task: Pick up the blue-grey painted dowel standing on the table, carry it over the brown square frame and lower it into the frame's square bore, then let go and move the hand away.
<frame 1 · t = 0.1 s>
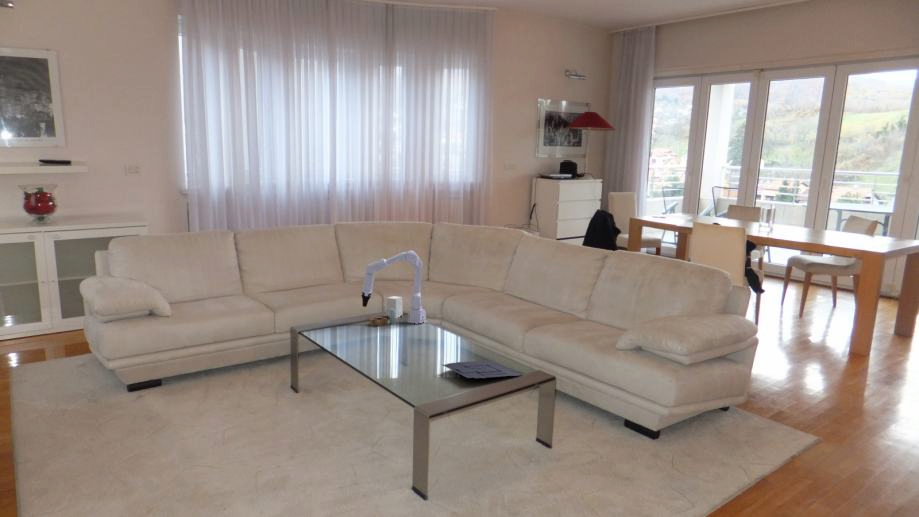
hand: (364, 305, 354), 11 cm above the table, fingers open, 7 cm apart
dowel: (392, 323, 353), on the table
supplement box: (394, 317, 371), on the table
brown square frame: (378, 324, 350), on the table
dark grey flat piece: (480, 374, 267), on the table
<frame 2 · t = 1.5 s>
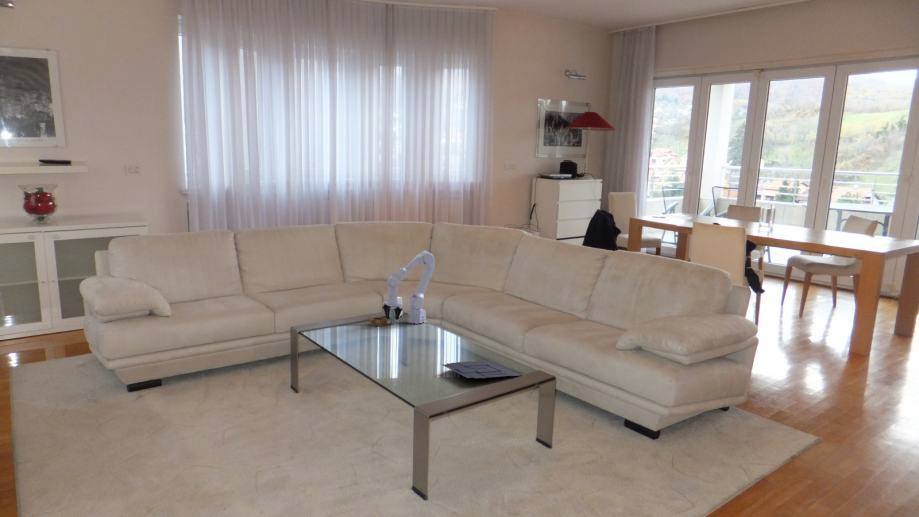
hand: (392, 318, 353), 3 cm above the table, fingers open, 7 cm apart
nothing on the table moved.
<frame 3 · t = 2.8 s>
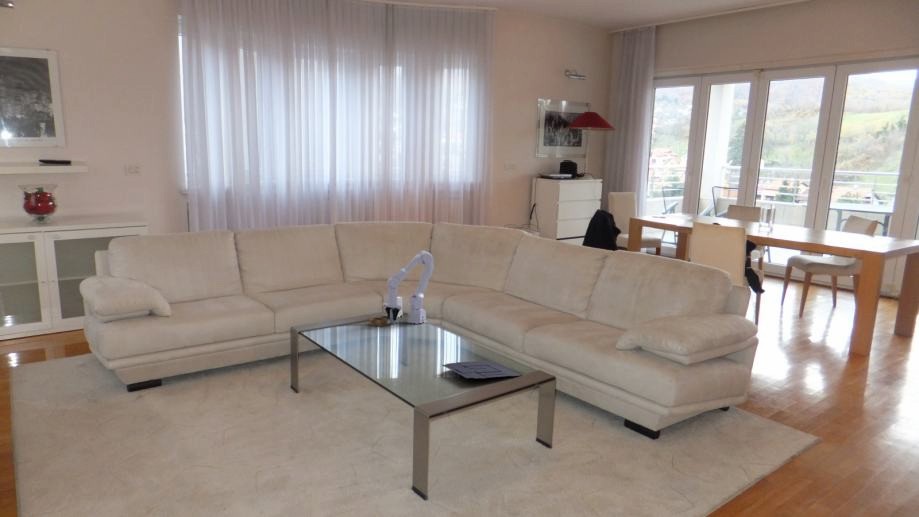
hand: (392, 319, 353), 2 cm above the table, fingers closed on dowel, 3 cm apart
dowel: (392, 323, 353), on the table, touching gripper
everything else where it was.
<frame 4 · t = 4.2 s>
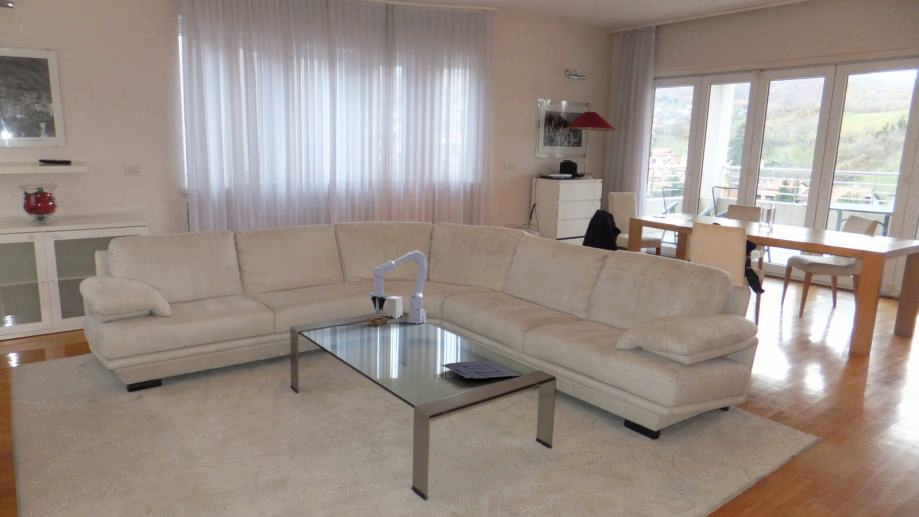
hand: (378, 309, 349), 9 cm above the table, fingers closed on dowel, 3 cm apart
dowel: (378, 313, 349), point 7 cm above the table, touching gripper
everything else where it was.
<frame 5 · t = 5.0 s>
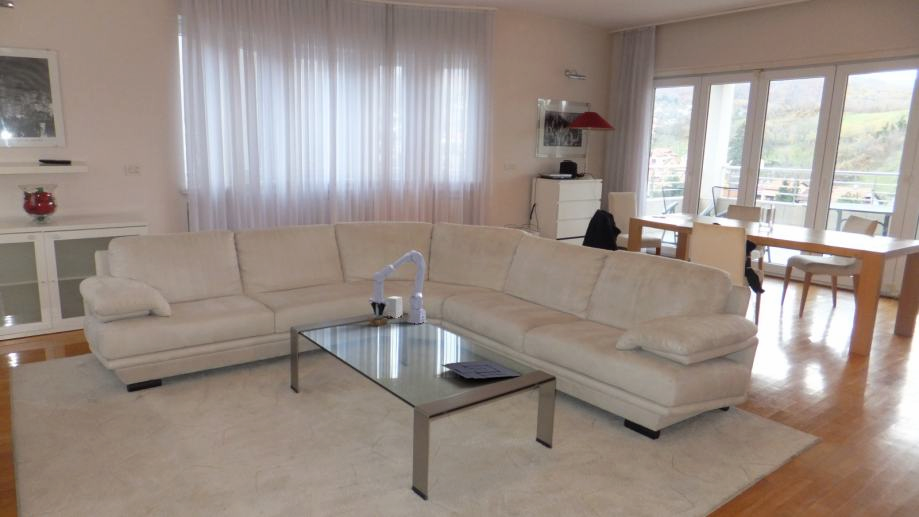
hand: (378, 314, 350), 6 cm above the table, fingers closed on dowel, 3 cm apart
dowel: (378, 318, 350), point 3 cm above the table, touching gripper
everything else where it was.
when the fingers open (4 cm above the table, at t = 5.7 s): dowel drops 2 cm, resting in brown square frame.
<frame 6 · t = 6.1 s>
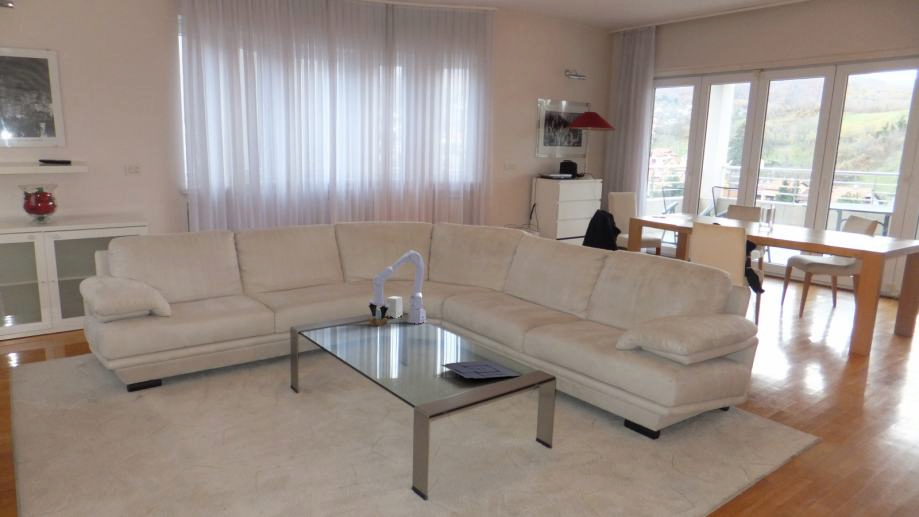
hand: (378, 317, 350), 4 cm above the table, fingers open, 7 cm apart
dowel: (378, 324, 350), resting in brown square frame
everything else where it was.
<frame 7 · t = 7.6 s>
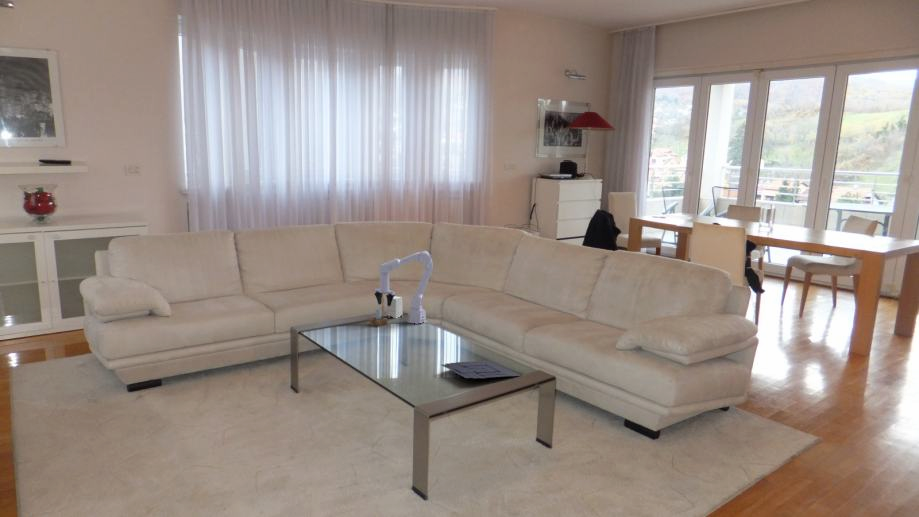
hand: (384, 305, 356), 10 cm above the table, fingers open, 7 cm apart
nothing on the table moved.
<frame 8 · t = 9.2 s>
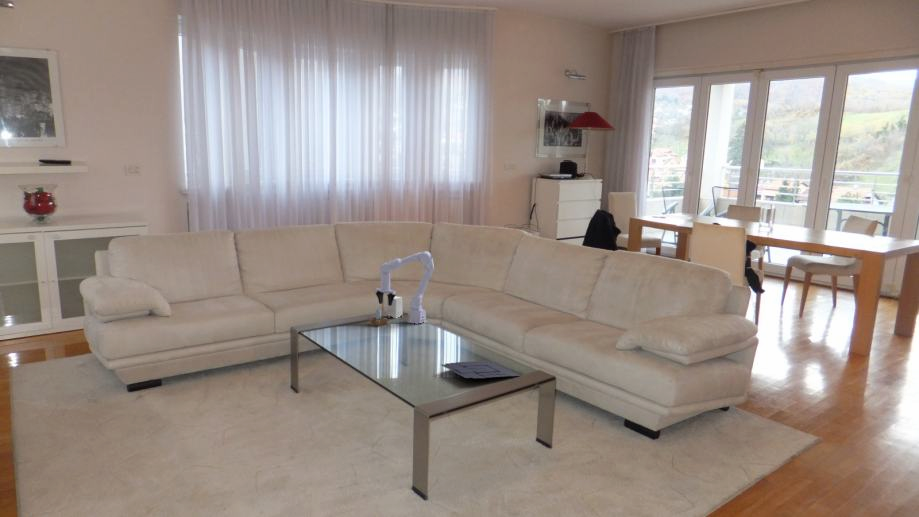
hand: (385, 304, 358), 10 cm above the table, fingers open, 7 cm apart
nothing on the table moved.
at the end: dowel 0.0 cm off-centre on the brown square frame, point 0.0 cm above the brown square frame's base; dowel tilted 0°; the gripper is holding nothing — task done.
